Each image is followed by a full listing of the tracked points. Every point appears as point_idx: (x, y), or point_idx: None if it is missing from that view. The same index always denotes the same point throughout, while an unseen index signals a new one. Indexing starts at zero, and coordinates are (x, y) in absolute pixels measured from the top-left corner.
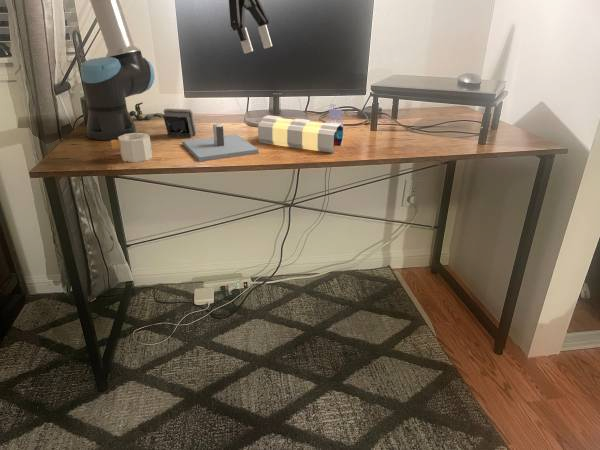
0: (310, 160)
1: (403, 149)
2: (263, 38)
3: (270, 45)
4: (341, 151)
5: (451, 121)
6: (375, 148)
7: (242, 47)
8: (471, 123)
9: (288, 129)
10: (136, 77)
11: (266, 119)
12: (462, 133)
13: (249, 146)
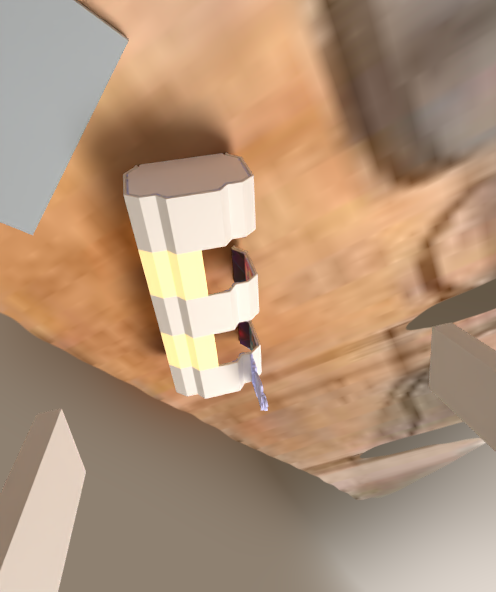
0: (93, 349)
1: (274, 415)
2: (490, 393)
3: (434, 389)
4: None
5: None
6: None
7: (18, 456)
8: None
9: (152, 297)
10: None
11: (166, 217)
12: (409, 427)
13: (32, 194)
